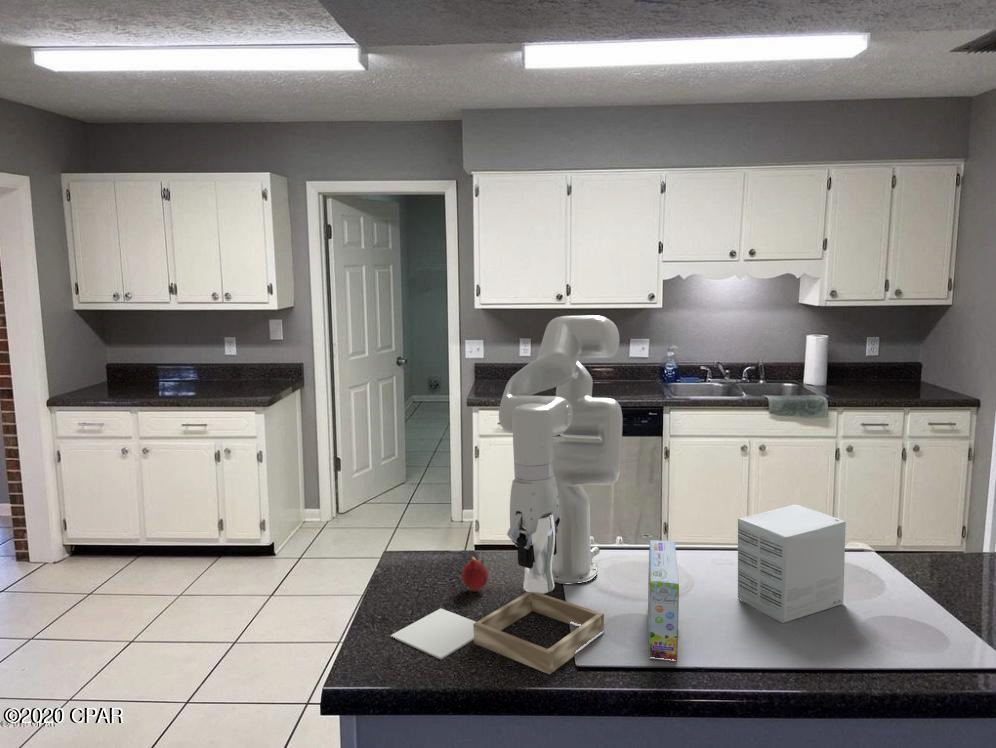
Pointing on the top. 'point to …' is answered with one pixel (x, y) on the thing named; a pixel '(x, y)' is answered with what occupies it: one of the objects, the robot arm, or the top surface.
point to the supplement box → (791, 562)
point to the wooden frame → (529, 653)
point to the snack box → (663, 600)
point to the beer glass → (541, 558)
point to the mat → (438, 633)
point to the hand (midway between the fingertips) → (537, 558)
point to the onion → (474, 575)
